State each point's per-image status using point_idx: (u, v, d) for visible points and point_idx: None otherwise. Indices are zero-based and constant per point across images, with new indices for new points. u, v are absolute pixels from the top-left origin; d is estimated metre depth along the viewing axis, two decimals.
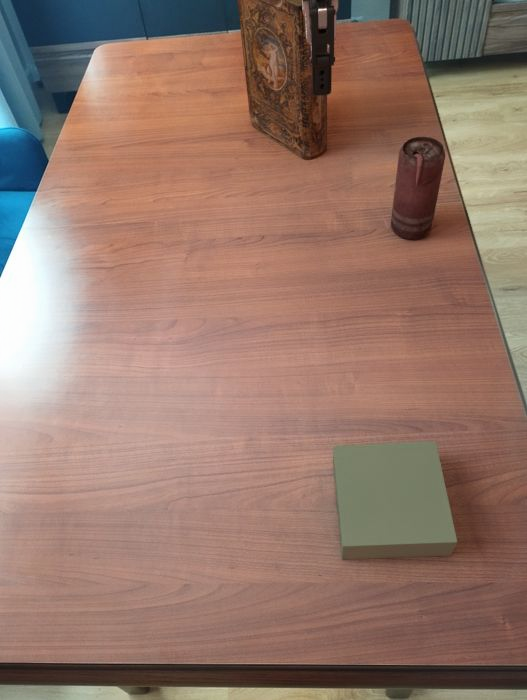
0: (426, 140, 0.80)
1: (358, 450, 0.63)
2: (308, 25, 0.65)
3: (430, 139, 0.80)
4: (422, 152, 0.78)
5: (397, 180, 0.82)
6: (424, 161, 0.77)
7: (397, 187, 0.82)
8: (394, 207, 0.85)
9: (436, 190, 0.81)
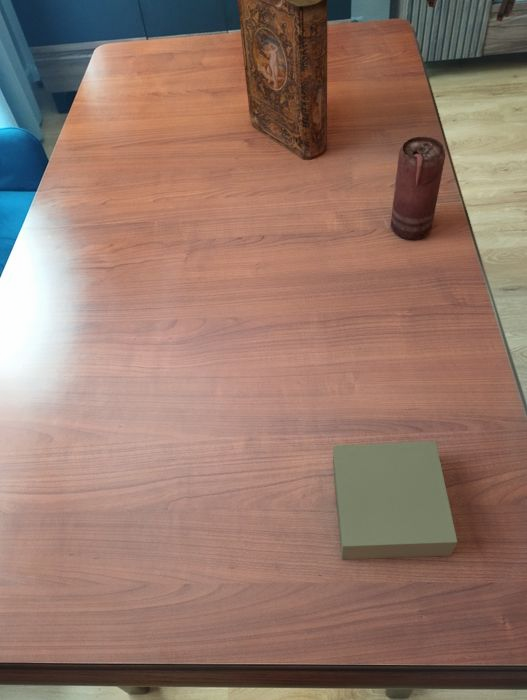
0: (426, 140, 0.80)
1: (358, 450, 0.63)
2: None
3: (430, 139, 0.80)
4: (422, 152, 0.78)
5: (397, 180, 0.82)
6: (424, 161, 0.77)
7: (397, 187, 0.82)
8: (394, 207, 0.85)
9: (436, 190, 0.81)
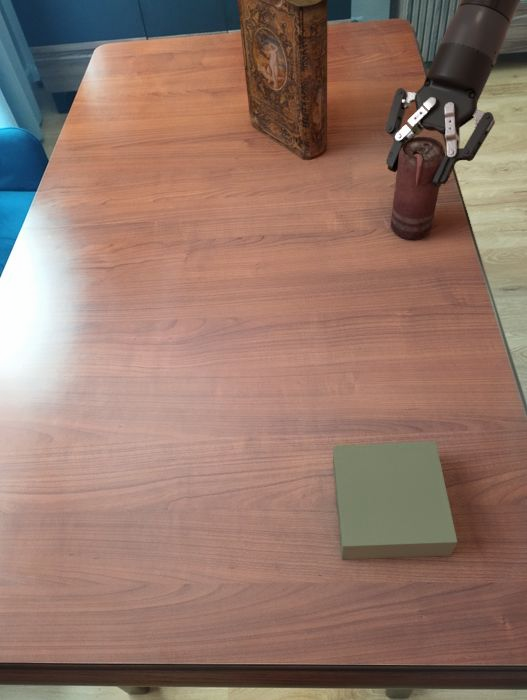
0: (426, 140, 0.80)
1: (358, 450, 0.63)
2: None
3: (430, 139, 0.80)
4: (422, 152, 0.78)
5: (396, 180, 0.82)
6: (424, 161, 0.77)
7: (397, 187, 0.82)
8: (394, 207, 0.85)
9: (436, 190, 0.81)
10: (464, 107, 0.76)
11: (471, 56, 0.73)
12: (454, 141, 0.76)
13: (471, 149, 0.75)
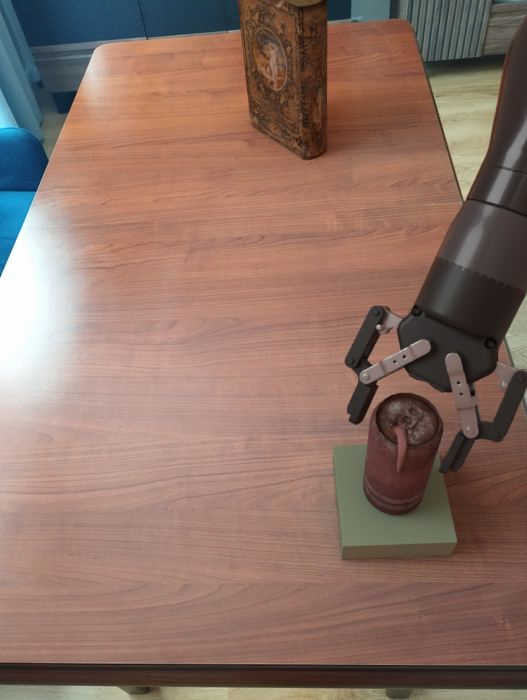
0: (413, 398, 0.50)
1: (358, 450, 0.63)
2: None
3: (420, 397, 0.50)
4: (406, 426, 0.49)
5: (368, 451, 0.53)
6: (409, 449, 0.47)
7: (369, 459, 0.53)
8: (366, 475, 0.56)
9: (429, 469, 0.52)
10: (477, 362, 0.46)
11: (490, 291, 0.43)
12: (471, 412, 0.46)
13: (504, 432, 0.45)
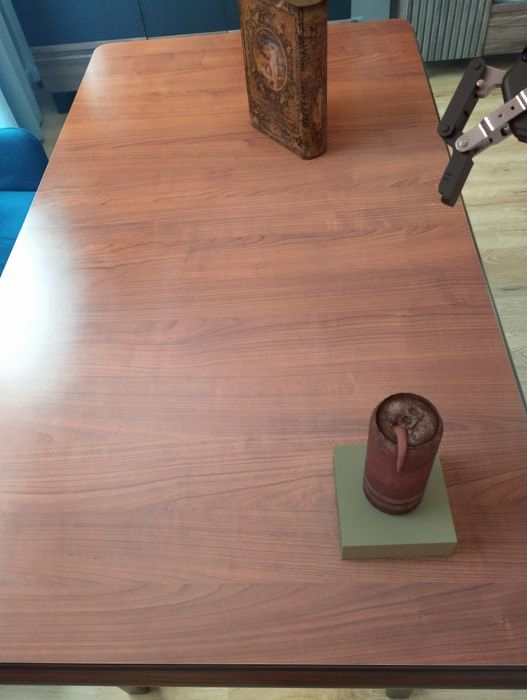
0: (413, 398, 0.50)
1: (358, 450, 0.63)
2: None
3: (420, 397, 0.50)
4: (406, 426, 0.49)
5: (368, 451, 0.53)
6: (409, 449, 0.47)
7: (369, 459, 0.53)
8: (366, 475, 0.56)
9: (429, 469, 0.52)
10: None
11: None
12: None
13: None
